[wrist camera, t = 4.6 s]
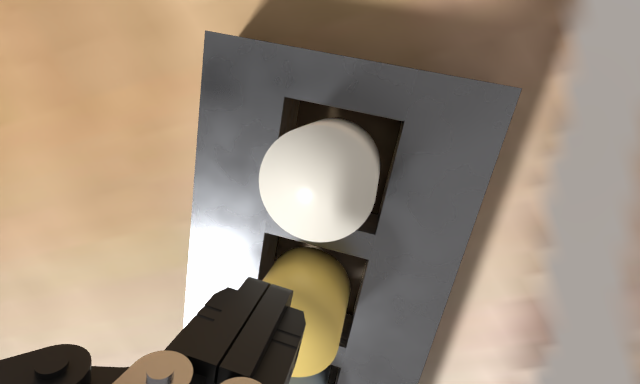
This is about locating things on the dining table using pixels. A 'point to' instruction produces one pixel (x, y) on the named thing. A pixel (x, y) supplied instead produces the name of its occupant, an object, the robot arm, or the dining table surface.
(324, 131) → the button ivory
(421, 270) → the panel
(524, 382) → the dining table surface
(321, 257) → the button mustard
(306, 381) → the button blue
